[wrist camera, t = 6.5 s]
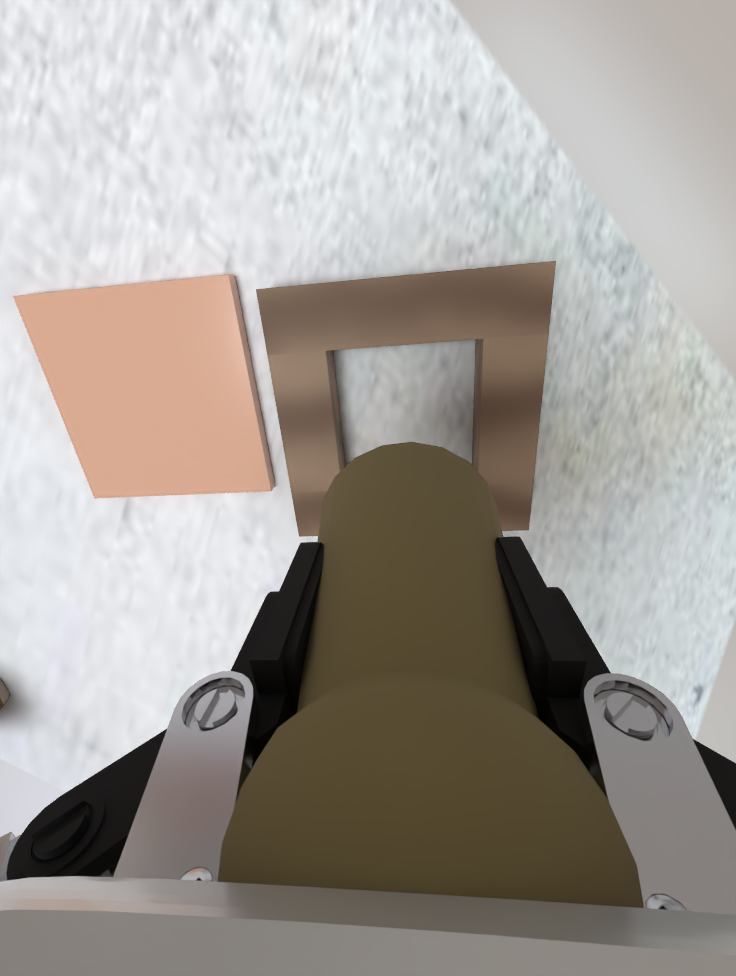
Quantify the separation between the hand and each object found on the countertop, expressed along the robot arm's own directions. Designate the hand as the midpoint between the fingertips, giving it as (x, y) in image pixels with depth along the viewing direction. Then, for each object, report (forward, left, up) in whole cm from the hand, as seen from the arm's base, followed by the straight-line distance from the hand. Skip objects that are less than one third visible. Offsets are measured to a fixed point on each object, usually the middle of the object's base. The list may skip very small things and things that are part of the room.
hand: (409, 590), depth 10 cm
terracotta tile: (+2, +17, -18) cm, 25 cm away
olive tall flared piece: (0, 0, -4) cm, 4 cm away
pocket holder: (0, 0, -18) cm, 18 cm away
